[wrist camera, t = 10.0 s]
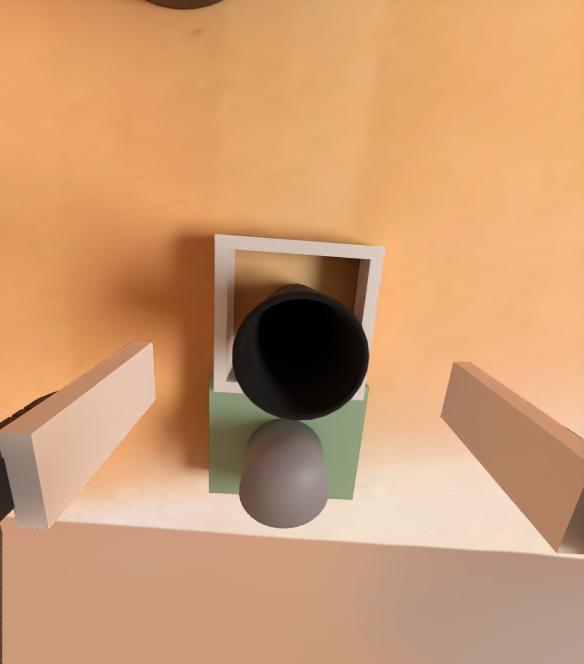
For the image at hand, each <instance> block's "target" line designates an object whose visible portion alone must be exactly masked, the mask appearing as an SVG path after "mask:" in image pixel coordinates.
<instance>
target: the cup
mask: <svg viewBox="0 0 584 664" xmlns="http://www.w3.org/2000/svg"><path fill="white" fill-rule="evenodd" d="M368 363H369V347H368V340H367V337H366V335H365V332H364V330H363V327H362V325H361V324H360V322H359V321H358V320H357V318H356V317H355V315H354V314H353V313H352V312H351V311H350V310H349V309H348V308H346V307H345V306H344V305H343V304H342V303H340V302H339V301H337V300H335V299H332V298H330V297H328V296H326V295H324V294H322V293H320V292H318V291H315V290H313V289H311V288H309V287H307V286H304V285H299V284H295V285H288V286H284V287H282V288H281V289H279V290H277V291H276V292H275V293H273V294H272V295H271V296H269V297H268V298H267V299H265V300H264V301H263V302H262V303H260V304H259V305H258V306H257V307H256V308H255V309H254V310H253V311H251V312H250V313H249V314H248V315H247V316H246V317H245V319H244V321H243V322H242V324H241V326H240V327H239V329H238V331H237V333H236V336H235V340H234V343H233V347H232V365H233V370H234V374H235V378H236V380H237V382H238V384H239V386H240V388H241V390H242V392H243V393H244V394H245V395H246V396H247V397H248V398H249V400H250V401H251V402H252V403H253V404H254V405H256V406H257V407H259V408H260V409H262V410H263V411H264V412H266V413H269V414H271V415H273V416H276V417H278V418H282V419H288V420H294V421H301V420H313V419H317V418H320V417H324V416H327V415H329V414H331V413H333V412H335V411H337V410H338V409H340V408H341V407H343V406H344V405H345V404H346V403H347V402H349V401H350V400H351V399H352V398H353V396H354V395H355V394H356V392H357V391H358V390H359V388H360V387H361V385H362V383H363V381H364V378H365V376H366V373H367V370H368Z"/></svg>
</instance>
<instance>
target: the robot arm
mask: <svg viewBox="0 0 584 664" xmlns="http://www.w3.org/2000/svg"><path fill="white" fill-rule="evenodd" d="M149 1H151V2H154V3H157V4H160V5H163V6H168V7H173V8H184V9H188V8H199V7H204V6H209V5H212V4H215V3H217V2H220V1H222V0H149ZM155 400H156V398H155V381H154V363H153V345H152V342H146V341H133V342H132V343H130V344H129V345H127V346H125V347H124V348H122V349H121V350H119V351H118V352H116V353H115V354H113V355H112V356H110V357H109V358H107V359H106V360H104V361H103V362H101V363H100V364H98V365H97V366H95V367H94V368H92V369H91V370H89V371H88V372H86V373H85V374H83V375H82V376H80V377H79V378H77V379H76V380H74V381H73V382H71V383H70V384H68V385H67V386H65V387H64V388H62V389H61V390H59V391H56V392H53V393H51V394H48V395H46V396H43V397H41V398H38V399H37V400H35V401H33V402H32V403H30V404H29V405H27V406H26V407H24V409H21V410H19V411H18V412H16V413H15V414H13V415H12V417H8V418H7V419H5V420H4V421H2V422H1V423H0V521H1V520H2V519H3V518H4V517H5V516H7V515H8V514H9V513H10V512H11V511H12V510H13V509H14V513H15V518H16V522H17V527H18V528H36V529H49V528H50V527H51V526H52V524H53V523H54V522H55V521H56V520H57V519H58V517H59V516H60V515H61V514H62V513H63V511H64V510H65V509H66V508H67V506H68V505H69V504H70V503H71V502H72V500H73V499H74V498H75V497H76V496H77V494H78V493H79V492H80V491H81V489H82V488H83V487H84V486H85V485H86V483H87V482H88V481H89V480H90V479H91V477H92V476H93V475H94V474H95V472H96V471H97V470H98V469H99V468H100V466H101V465H102V464H103V463H104V462H105V460H106V459H107V458H108V457H109V455H110V454H111V453H112V452H113V451H114V449H115V448H116V447H117V446H118V445H119V443H120V442H121V441H122V440H123V438H124V437H125V436H126V435H127V434H128V432H129V431H130V430H131V429H132V428H133V426H134V425H135V424H136V423H137V422H138V420H139V419H140V418H141V417H142V415H143V414H144V413H145V412H146V411H147V409H148V408H149V407H150V406H151V405H152V403H153V402H154V401H155ZM441 417H442V419H443V420H444V421H445V422H446V423H447V424H448V426H449V427H450V428H451V429H452V430H453V432H454V433H455V434H456V435H457V436H458V437H459V439H460V440H461V441H462V442H463V443H464V444H465V446H466V447H467V448H468V449H469V450H470V452H471V453H472V454H473V455H474V456H475V457H476V459H477V460H478V461H479V462H480V463H481V464H482V466H483V467H484V468H485V469H486V470H487V472H488V473H489V474H490V475H491V476H492V477H493V479H494V480H495V481H496V482H497V483H498V484H499V486H500V487H501V488H502V489H503V490H504V492H505V493H506V494H507V495H508V496H509V497H510V499H511V500H512V501H513V502H514V503H515V504H516V506H517V507H518V508H519V509H520V510H521V512H522V513H523V514H524V515H525V516H526V517H527V519H528V520H529V521H530V522H531V523H532V524H533V526H534V527H535V528H536V529H537V530H538V532H539V533H540V534H541V535H542V536H543V537H544V539H545V540H546V541H547V542H548V543H549V544H550V546H551V547H552V548H553V549H554V550H555V552H556V553H570V554H584V440H583V439H582V438H581V437H579V436H578V435H577V434H575V433H574V432H572V431H571V430H569V429H568V428H566V427H564V426H563V425H561V424H560V423H558V422H557V421H555V420H554V419H552V418H551V417H549V416H548V415H547V414H545V413H544V412H542V411H541V410H539V409H538V408H536V407H535V406H533V405H532V404H530V403H529V402H528V401H526V400H525V399H523V398H522V397H520V396H519V395H517V394H516V393H514V392H513V391H512V390H510V389H509V388H507V387H506V386H504V385H503V384H501V383H500V382H498V381H497V380H495V379H494V378H493V377H491V376H490V375H488V374H487V373H485V372H484V371H482V370H481V369H479V368H478V367H477V366H475V365H474V364H472V363H471V362H455V361H454V362H453V366H452V370H451V375H450V379H449V383H448V387H447V392H446V396H445V400H444V405H443V409H442V413H441ZM0 664H2V530H1V526H0Z"/></svg>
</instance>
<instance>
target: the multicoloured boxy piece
mask: <svg viewBox="0 0 584 664" xmlns="http://www.w3.org/2000/svg"><path fill="white" fill-rule="evenodd" d="M235 249H238V250H251V251H265V252H279V253H292V254H306V255H319V256H333V257H346V258H360V267H359V275H358V283H357V291H356V299H355V307H354V315H355V317H356V318H357V320H358V321H359V322H360V324H361V325H362V327H363V330H364V332H365V335H366V337H367V340H368V347H369V357H370V350H371V344H372V337H373V330H374V323H375V316H376V309H377V302H378V295H379V288H380V282H381V275H382V268H383V261H384V254H385V247H380V246H367V245H353V244H340V243H327V242H314V241H300V240H287V239H274V238H260V237H247V236H234V235H221V234H215V284H214V371H213V373H212V374H211V376H210V378H209V493H225V494H239V497H240V501H241V503H242V506H243V507H244V509H245V511H246V512H247V513H248V514H249V515H250V516H251V517H252V518H253V519H255V520H256V521H258V522H259V523H262V524H264V525H266V526H270V527H274V528H293V527H298V526H301V525H304V524H306V523H308V522H310V521H311V520H313V519H314V518H315V517H317V516H318V515H319V514H320V513H321V511H322V510H323V508H324V507H325V505H326V502H327V500H328V499H347V500H352V499H353V492H354V486H355V479H356V472H357V465H358V459H359V452H360V445H361V438H362V432H363V425H364V418H365V412H366V405H367V398H368V391H369V387H368V385H367V383H366V378H367V373H366V376H365V378H364V381H363V383H362V385H361V387H360V388H359V390H358V391H357V392H356V394H355V395H354V396H353V398H352V399H351V400H350V401H349V402H347V403H346V404H345V405H344V406H343V407H341V408H340V409H338V410H337V411H335V412H333V413H331V414H329V415H327V416H324V417H320V418H317V419H313V420H301V421H294V420H288V419H282V418H278V417H276V416H273V415H271V414H269V413H266V412H264V411H263V410H262V409H260V408H259V407H257V406H256V405H254V404H253V403H252V402H251V401H250V400H249V398H248V397H247V396H246V395H245V394H244V393H243V392H242V390H241V388H240V386H239V384H238V382H237V380H236V378H235V374H234V370H233V366H232V347H233V323H234V281H235ZM368 364H369V363H368ZM367 371H368V370H367Z"/></svg>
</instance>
